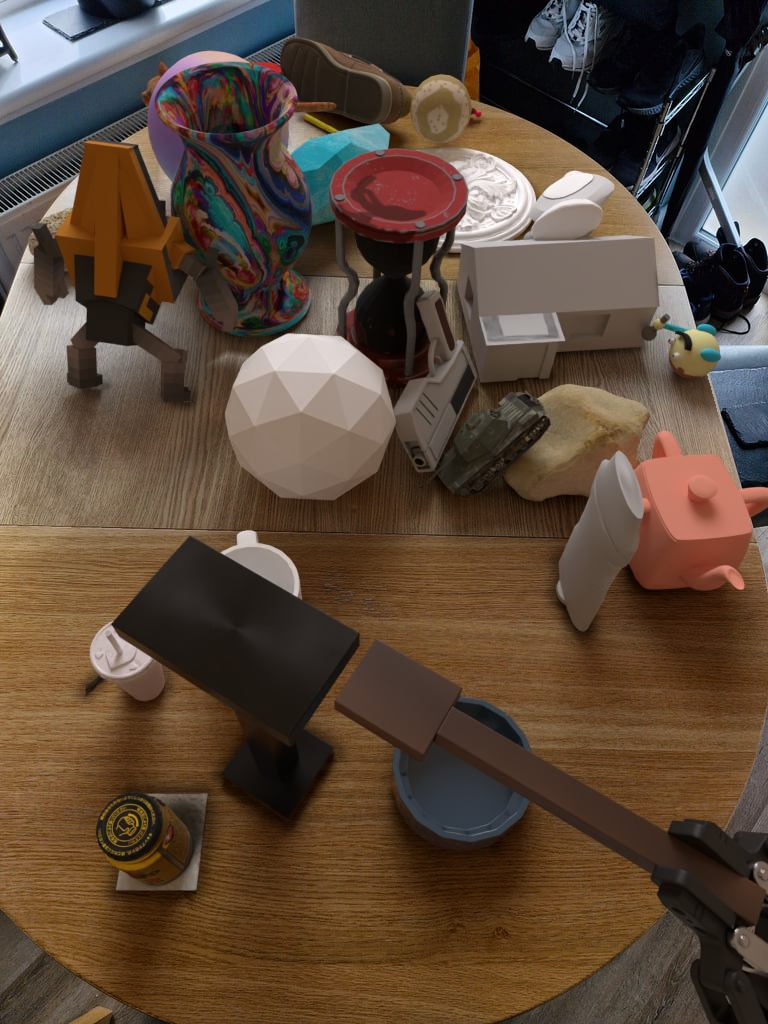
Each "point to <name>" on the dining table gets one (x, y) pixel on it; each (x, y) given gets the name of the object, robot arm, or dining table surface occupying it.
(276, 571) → the mug
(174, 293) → the toy robot
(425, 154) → the hourglass
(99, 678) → the stick
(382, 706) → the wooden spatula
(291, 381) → the geometric sculpture
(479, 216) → the ceiling medallion
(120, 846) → the condiment
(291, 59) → the boat shoe
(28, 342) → the dining table surface
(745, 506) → the teapot
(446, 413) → the futuristic handgun
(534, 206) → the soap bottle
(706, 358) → the figurine
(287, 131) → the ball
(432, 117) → the mushroom
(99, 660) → the smoothie
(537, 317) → the miniature house
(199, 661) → the black pedestal stand
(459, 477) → the toy tank
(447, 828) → the bowl
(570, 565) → the tall pale column
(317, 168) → the crystal
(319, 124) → the pencil
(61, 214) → the decorative item
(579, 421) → the stone
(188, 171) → the vase
